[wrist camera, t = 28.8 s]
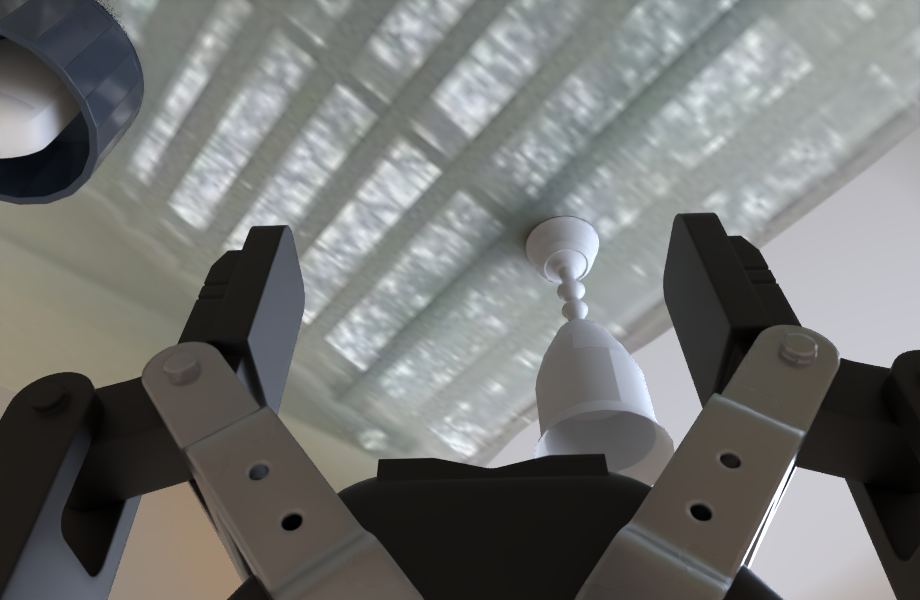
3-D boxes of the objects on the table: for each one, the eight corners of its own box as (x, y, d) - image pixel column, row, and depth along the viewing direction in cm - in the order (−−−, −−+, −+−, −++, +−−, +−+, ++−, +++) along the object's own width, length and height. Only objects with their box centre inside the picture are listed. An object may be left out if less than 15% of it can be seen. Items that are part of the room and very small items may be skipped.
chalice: (490, 240, 49) (504, 450, 35) (572, 184, 46) (623, 387, 32) (552, 302, 53) (587, 515, 39) (632, 254, 50) (700, 464, 36)
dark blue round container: (-80, -26, 38) (-169, 18, 33) (108, -33, 38) (51, 10, 32) (4, 147, 44) (-58, 207, 39) (165, 141, 44) (125, 201, 39)
